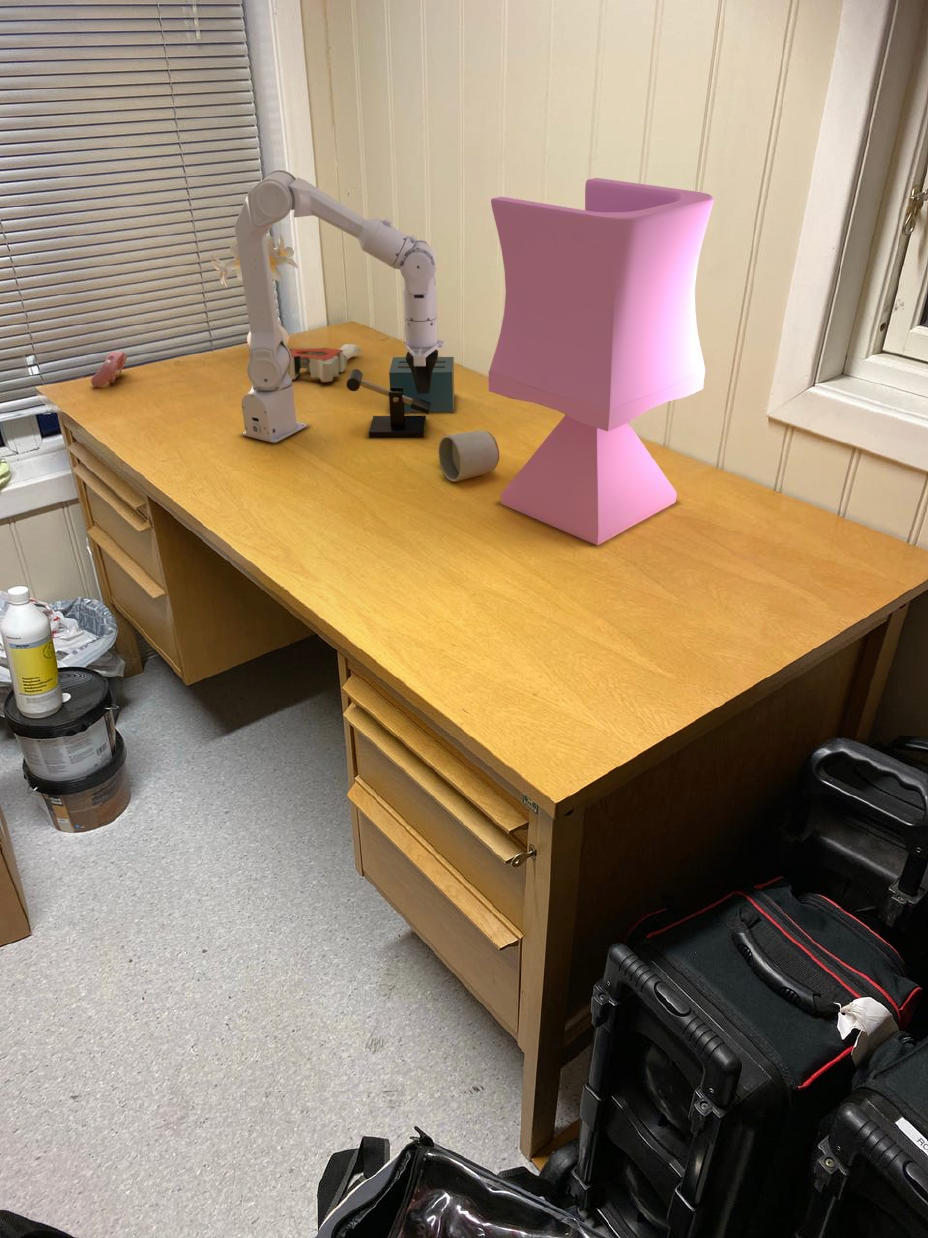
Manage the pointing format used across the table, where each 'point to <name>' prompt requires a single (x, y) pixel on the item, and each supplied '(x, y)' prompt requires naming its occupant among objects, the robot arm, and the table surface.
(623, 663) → the table surface
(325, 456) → the table surface
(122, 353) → the pink lumpy figure
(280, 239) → the flower vase
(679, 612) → the table surface
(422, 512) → the table surface
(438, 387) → the toaster
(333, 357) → the red grey lobed slab
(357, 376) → the lever
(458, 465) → the ceramic mug
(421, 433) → the bracket
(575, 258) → the pink tall piece
